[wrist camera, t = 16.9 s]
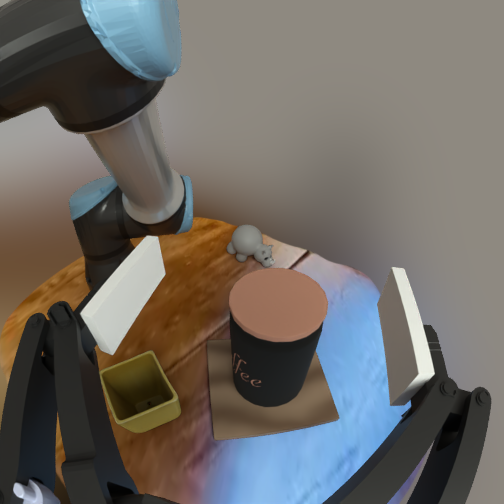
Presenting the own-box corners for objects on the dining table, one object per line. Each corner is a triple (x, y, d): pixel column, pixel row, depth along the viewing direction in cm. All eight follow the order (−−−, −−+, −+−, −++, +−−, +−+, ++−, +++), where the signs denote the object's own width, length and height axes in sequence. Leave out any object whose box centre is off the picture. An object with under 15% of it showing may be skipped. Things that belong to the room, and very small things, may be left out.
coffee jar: (229, 357, 42) (223, 271, 32) (292, 348, 44) (309, 263, 34) (239, 415, 34) (235, 344, 24) (310, 402, 35) (344, 326, 25)
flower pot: (119, 399, 35) (97, 370, 30) (166, 380, 39) (152, 348, 34) (140, 445, 29) (116, 425, 24) (191, 423, 33) (179, 398, 28)
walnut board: (207, 343, 46) (206, 340, 45) (306, 333, 48) (307, 329, 48) (214, 440, 31) (214, 438, 30) (337, 420, 33) (339, 418, 33)
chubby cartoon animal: (257, 283, 64) (270, 261, 57) (220, 250, 66) (229, 226, 60) (274, 267, 68) (288, 245, 62) (239, 237, 71) (249, 214, 65)
